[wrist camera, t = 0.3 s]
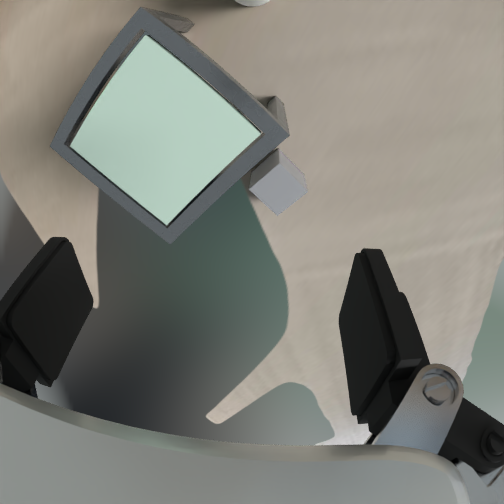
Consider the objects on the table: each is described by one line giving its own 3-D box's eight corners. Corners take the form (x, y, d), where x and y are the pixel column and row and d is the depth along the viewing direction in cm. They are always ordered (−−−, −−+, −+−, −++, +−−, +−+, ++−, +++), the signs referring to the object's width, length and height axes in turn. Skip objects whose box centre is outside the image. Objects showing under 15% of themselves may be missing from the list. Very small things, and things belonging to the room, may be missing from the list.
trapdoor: (74, 142, 28) (69, 146, 27) (149, 35, 22) (145, 35, 21) (169, 220, 34) (166, 225, 33) (261, 131, 27) (260, 134, 26)
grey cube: (251, 171, 46) (248, 189, 41) (278, 148, 43) (279, 163, 38) (276, 195, 48) (277, 215, 43) (304, 173, 45) (307, 191, 41)
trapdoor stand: (111, 109, 40) (49, 146, 27) (186, 18, 32) (140, 7, 19) (198, 182, 47) (170, 244, 34) (283, 103, 39) (289, 135, 26)
